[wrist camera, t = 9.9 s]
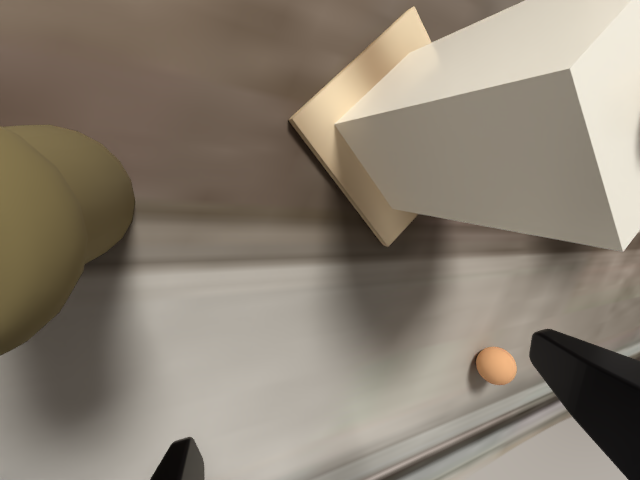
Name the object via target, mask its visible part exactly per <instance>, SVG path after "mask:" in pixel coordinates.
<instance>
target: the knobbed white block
mask: <svg viewBox="0 0 640 480" xmlns="http://www.w3.org/2000/svg"><path fill="white" fill-rule="evenodd" d="M334 125H335V126H336V127H337V129H338V130H339V132H340V133H341V135H342V136H343V138H344V139H345V141H346V142H347V144H348V145H349V146H350V148H351V149H352V151H353V152H354V154H355V155H356V157H357V158H358V160H359V161H360V162H361V164H362V165H363V167H364V168H365V170H366V171H367V173H368V174H369V176H370V177H371V179H372V180H373V181H374V183H375V184H376V186H377V187H378V189H379V190H380V192H381V193H382V195H383V196H384V197H385V199H386V200H387V202H388V203H389V205H390V206H391V208H392V209H396V210H401V211H406V212H412V213H417V214H422V215H428V216H433V217H439V218H444V219H449V220H455V221H460V222H465V223H471V224H476V225H481V226H487V227H492V228H498V229H503V230H508V231H514V232H519V233H524V234H530V235H535V236H541V237H546V238H551V239H557V240H562V241H567V242H573V243H578V244H584V245H589V246H594V247H600V248H605V249H610V250H616V251H621V252H623V251H624V250H625V249H626V247H627V246H628V245H629V243H630V242H631V241H632V239H633V238H634V237H635V235H636V234H637V233H638V231H639V230H640V0H525V1H523V2H521V3H519V4H516V5H514V6H512V7H510V8H508V9H505V10H503V11H501V12H499V13H497V14H494V15H492V16H490V17H488V18H485V19H483V20H481V21H479V22H477V23H474V24H472V25H470V26H468V27H465V28H463V29H461V30H459V31H457V32H454V33H452V34H450V35H448V36H446V37H443V38H441V39H439V40H437V41H434V42H432V43H430V44H428V45H426V46H423V47H421V48H419V49H417V50H415V51H412V52H410V53H409V54H408V55H407V56H406V57H405V58H403V59H402V60H401V61H400V62H399V63H398V64H397V65H396V66H395V67H394V68H393V69H392V70H391V71H390V72H389V73H388V74H387V75H386V76H385V77H383V78H382V79H381V80H380V81H379V82H378V83H377V84H376V85H375V86H374V87H373V88H372V89H371V90H370V91H369V92H368V93H367V94H366V95H364V96H363V97H362V98H361V99H360V100H359V101H358V102H357V103H356V104H355V105H354V106H353V107H352V108H351V109H350V110H349V111H348V112H347V113H346V114H344V115H343V116H342V117H341V118H340V119H339V120H338V121H337V122H336V123H335V124H334Z"/></svg>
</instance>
